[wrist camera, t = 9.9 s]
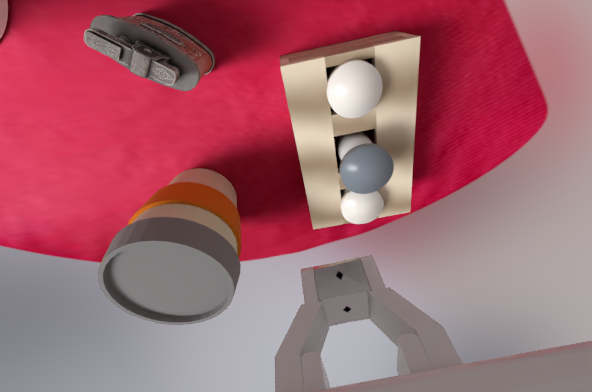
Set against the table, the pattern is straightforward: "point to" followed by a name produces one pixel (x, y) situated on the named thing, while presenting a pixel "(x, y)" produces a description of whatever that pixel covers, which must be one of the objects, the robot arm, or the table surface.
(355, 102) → the plunger near
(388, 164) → the plunger middle
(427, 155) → the table surface
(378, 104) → the wooden peg holder
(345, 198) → the plunger far
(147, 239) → the reusable coffee cup
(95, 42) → the lighter
